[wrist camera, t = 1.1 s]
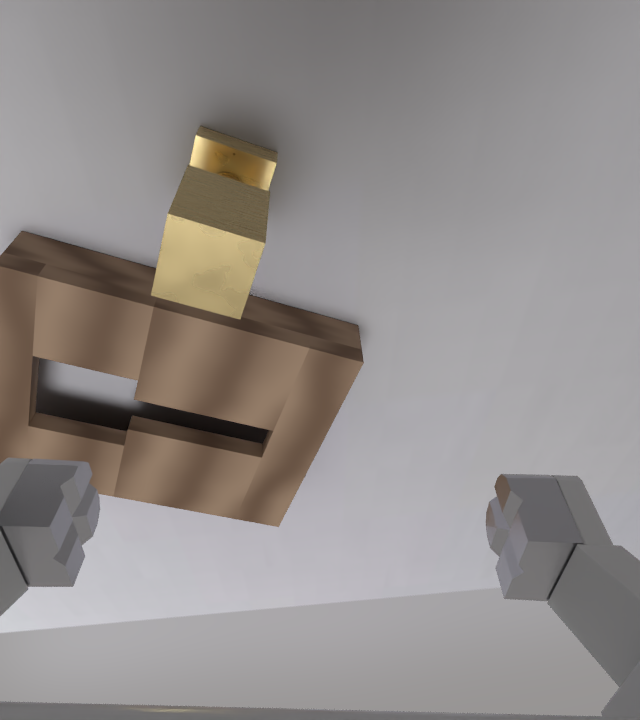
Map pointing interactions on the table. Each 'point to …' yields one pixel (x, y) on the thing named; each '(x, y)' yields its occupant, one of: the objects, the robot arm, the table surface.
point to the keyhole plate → (169, 381)
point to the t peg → (216, 225)
